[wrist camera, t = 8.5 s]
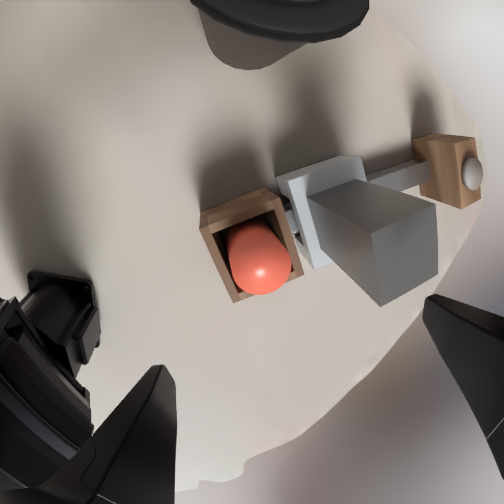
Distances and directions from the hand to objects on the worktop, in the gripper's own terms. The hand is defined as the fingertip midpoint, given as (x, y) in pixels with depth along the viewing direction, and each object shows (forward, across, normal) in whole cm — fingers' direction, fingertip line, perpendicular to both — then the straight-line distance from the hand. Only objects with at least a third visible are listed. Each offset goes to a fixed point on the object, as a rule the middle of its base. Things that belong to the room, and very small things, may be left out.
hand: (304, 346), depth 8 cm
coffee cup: (+13, -2, -13) cm, 19 cm away
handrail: (+13, -8, -1) cm, 15 cm away
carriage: (+12, -4, 0) cm, 13 cm away
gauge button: (+10, +1, 0) cm, 10 cm away
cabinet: (+12, +1, 0) cm, 12 cm away
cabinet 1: (+14, -16, -2) cm, 21 cm away
